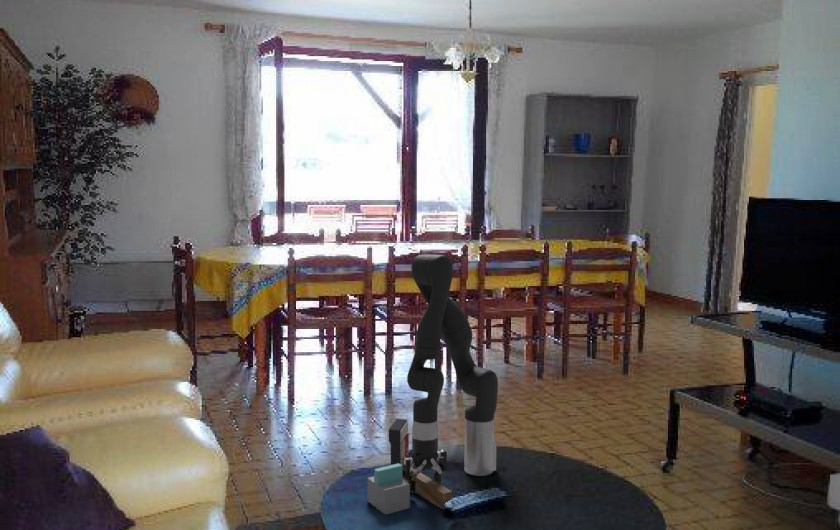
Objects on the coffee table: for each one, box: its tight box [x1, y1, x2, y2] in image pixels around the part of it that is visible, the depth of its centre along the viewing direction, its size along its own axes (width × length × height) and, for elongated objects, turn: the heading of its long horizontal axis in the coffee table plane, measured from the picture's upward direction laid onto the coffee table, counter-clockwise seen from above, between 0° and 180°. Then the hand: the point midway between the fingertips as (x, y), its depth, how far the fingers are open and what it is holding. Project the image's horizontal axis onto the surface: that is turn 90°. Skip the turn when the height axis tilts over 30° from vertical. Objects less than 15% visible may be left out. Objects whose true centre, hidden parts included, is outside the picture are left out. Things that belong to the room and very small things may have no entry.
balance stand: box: [367, 463, 411, 515], centre depth 204 cm, size 8×10×11 cm
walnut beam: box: [402, 466, 453, 509], centre depth 211 cm, size 3×22×5 cm, turn 34°
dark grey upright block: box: [388, 418, 410, 465], centre depth 228 cm, size 11×4×15 cm, turn 168°
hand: (424, 488), depth 211 cm, fingers open, 8 cm apart
